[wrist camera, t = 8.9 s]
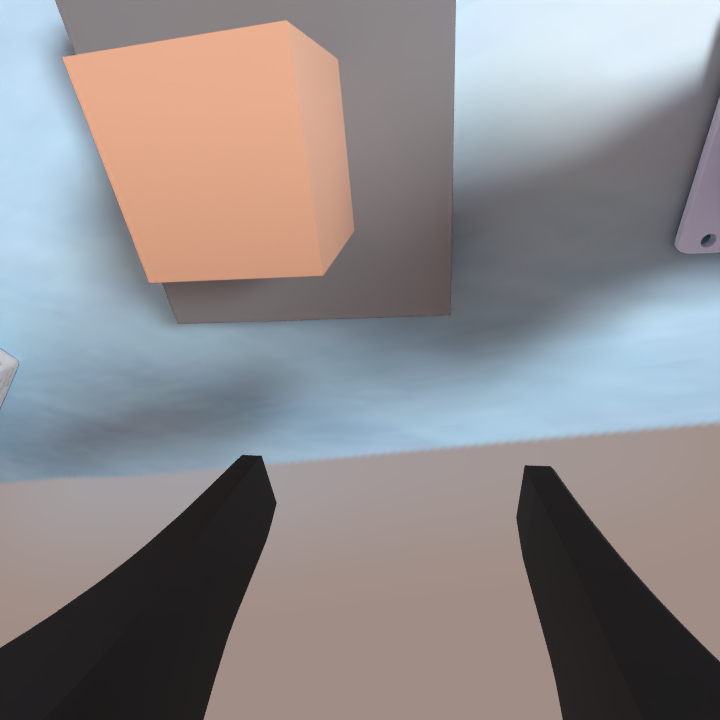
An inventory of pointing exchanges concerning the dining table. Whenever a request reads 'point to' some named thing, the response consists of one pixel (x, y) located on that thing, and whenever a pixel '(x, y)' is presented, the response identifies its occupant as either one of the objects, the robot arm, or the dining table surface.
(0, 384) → the light bulb box
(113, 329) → the dining table surface
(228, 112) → the terracotta block
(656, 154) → the dining table surface
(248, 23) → the grey square slab
